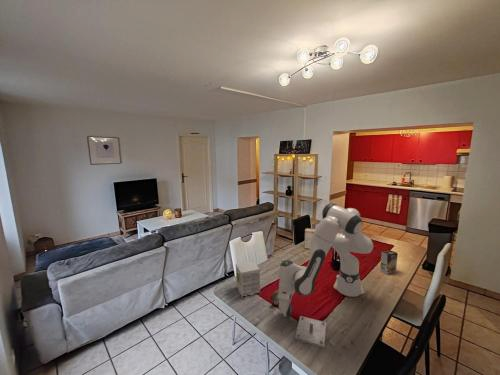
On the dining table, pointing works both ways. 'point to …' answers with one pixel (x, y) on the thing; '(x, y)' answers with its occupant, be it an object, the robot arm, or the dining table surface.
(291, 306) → the labeled dark box
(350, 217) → the robot arm
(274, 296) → the tin
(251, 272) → the supplement box
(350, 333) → the dining table surface
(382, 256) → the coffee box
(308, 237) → the coffeecake box
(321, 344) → the hub plate
